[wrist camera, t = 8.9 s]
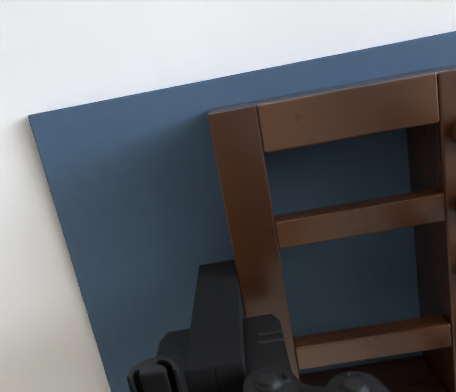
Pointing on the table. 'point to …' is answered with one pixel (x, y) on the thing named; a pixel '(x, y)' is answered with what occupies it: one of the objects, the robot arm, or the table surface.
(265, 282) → the rack
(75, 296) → the table surface
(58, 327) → the table surface
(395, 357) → the runner mat
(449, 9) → the table surface
